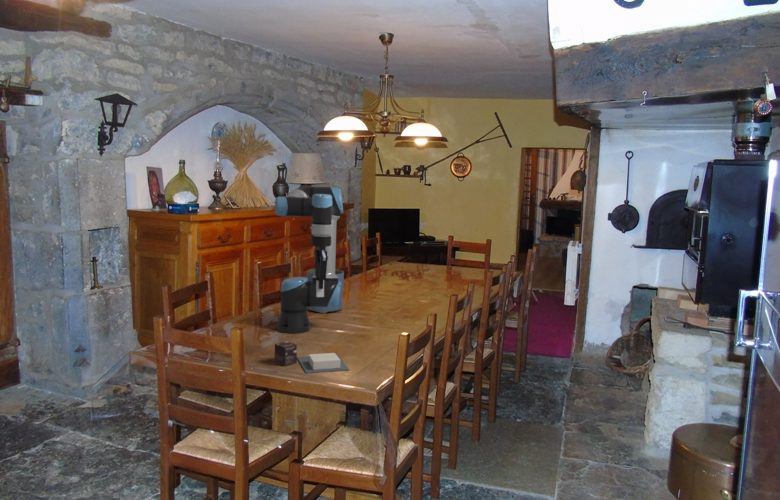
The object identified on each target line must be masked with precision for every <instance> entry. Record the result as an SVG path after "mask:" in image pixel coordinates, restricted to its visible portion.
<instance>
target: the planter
mask: <svg viewBox="0 0 780 500" xmlns="http://www.w3.org/2000/svg"><path fill="white" fill-rule="evenodd" d="M335 274H336V276H337V277H338V282H339V281H340V282H341V288H340V295H339V301H338V305H337V306H336V307H328V308H327V307H307V310H309V311H312V312H317V313H320V314H322V315H323V314H324V315H325V314H327V313H328V312H330V313H331V312H336V311H339V310H340V311H342V309H343V308H342V307H343V299H344V297H343V296H344V295H343V294H344V284H345V283H344V279H345V278H344V277H345V272H344V270H342V269H337V268H335ZM314 275H315V268H312V269H308V270H306V278H307V279H308V281H312V277H313V276H314Z"/></svg>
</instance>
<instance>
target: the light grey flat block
mask: <svg viewBox="0 0 780 500" xmlns="http://www.w3.org/2000/svg"><path fill="white" fill-rule="evenodd" d="M337 355H338V354H336V352H329V353H328V352H327V353H313V354H308V356H309V364H310V365H311V367H312V368H313V370H319V369H333V368H340V361H341V360H342V359H341V360H340V359H339V358H338V356H339V355H338V356H337Z"/></svg>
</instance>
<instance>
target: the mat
mask: <svg viewBox="0 0 780 500" xmlns="http://www.w3.org/2000/svg"><path fill="white" fill-rule="evenodd" d="M336 355H337V356H338V358H339V359H340V360H341V361H340V368H333V369H319V370H313V368H312V367H311V365H310V364H309V355H308V356H297V360H298V361H297V362H298V363H299V365H300V366H301V368H302V369H303V371H304V373H305V374H313V373H314V374H316V373H331V372H344V371H350V369H349V367H348V365H346V363H345V362H344V360H342V358H341V357H340V356H339V355H338V354H336Z"/></svg>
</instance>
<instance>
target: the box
mask: <svg viewBox="0 0 780 500" xmlns="http://www.w3.org/2000/svg"><path fill="white" fill-rule="evenodd" d="M297 345H298V344H297V343H293V342H291V341H282V342H278V343H275V344H274V363H275V364H277V365H280V366H283V367H287V366H290V365H294V364H296V363H297V362H298V361H297V360H298V359H297V357H298V356H297V354H298V351H297V349H298V347H297Z"/></svg>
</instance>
